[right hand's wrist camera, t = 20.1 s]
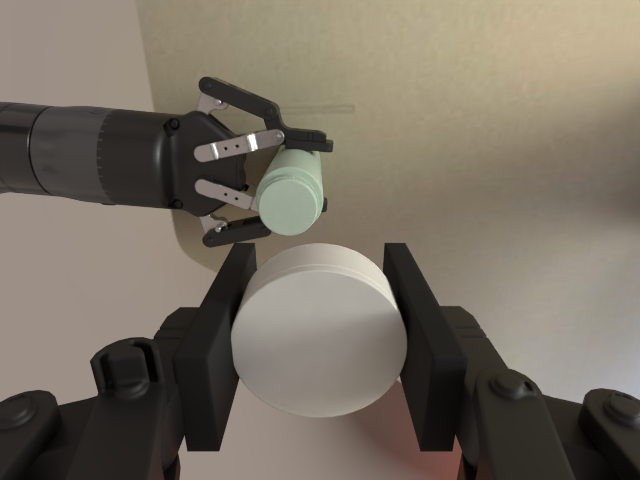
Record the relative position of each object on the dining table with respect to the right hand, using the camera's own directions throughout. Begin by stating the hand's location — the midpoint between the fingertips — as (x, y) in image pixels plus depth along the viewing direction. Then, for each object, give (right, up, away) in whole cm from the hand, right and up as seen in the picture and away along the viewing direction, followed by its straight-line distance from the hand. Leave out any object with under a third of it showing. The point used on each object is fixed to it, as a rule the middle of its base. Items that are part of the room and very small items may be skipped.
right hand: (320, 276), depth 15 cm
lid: (0, -2, -4) cm, 4 cm away
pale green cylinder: (-2, +9, +23) cm, 25 cm away
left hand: (+1, +7, +17) cm, 18 cm away
